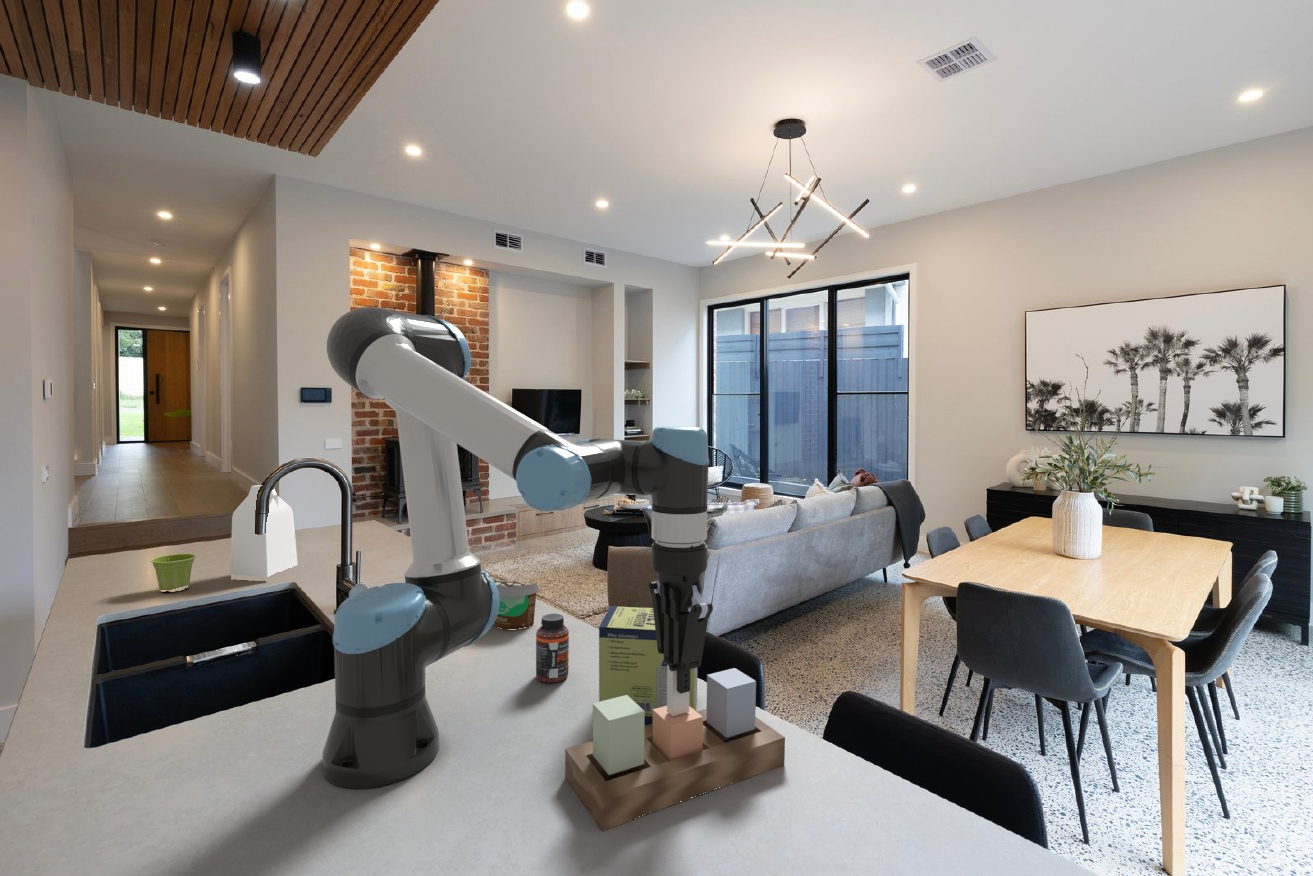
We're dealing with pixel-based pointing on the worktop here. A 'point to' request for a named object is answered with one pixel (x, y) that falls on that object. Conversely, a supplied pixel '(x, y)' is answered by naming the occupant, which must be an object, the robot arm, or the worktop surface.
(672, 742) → the peach rectangular prism
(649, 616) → the protein box
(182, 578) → the plant pot
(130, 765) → the worktop surface
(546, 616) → the supplement bottle
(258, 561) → the milk
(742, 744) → the walnut board
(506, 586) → the food container
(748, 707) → the slate upright cuboid
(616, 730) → the sage rectangular block
